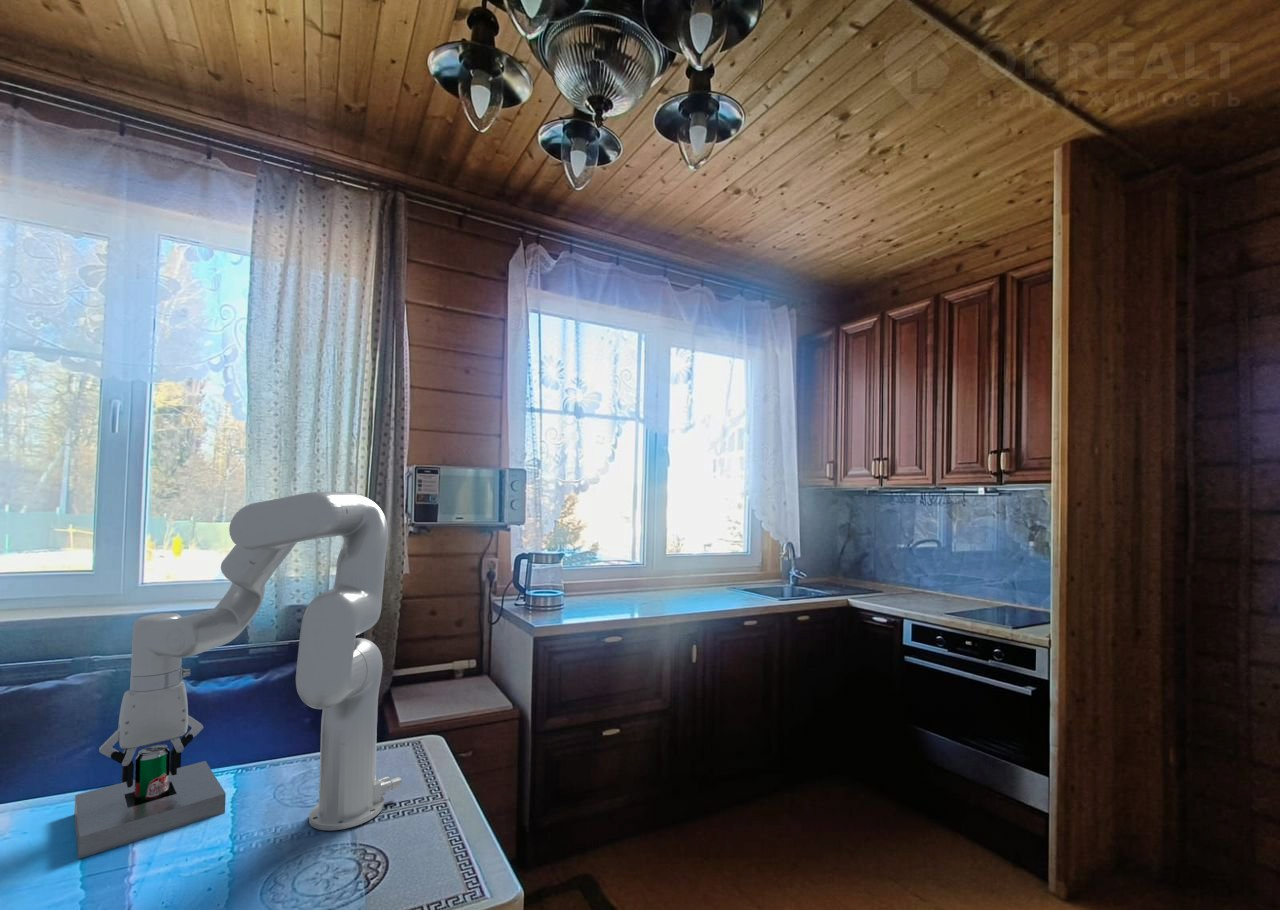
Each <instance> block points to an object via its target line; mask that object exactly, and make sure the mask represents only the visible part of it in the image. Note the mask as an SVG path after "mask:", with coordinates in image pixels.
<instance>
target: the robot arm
mask: <svg viewBox="0 0 1280 910" xmlns="http://www.w3.org/2000/svg"><path fill="white" fill-rule="evenodd" d="M228 529H229V530H228V531H229V536H230V540H232V542H233V543H234V547H232V549H231V550H230V551H229V553H227V555H226V556H225V558H224V559H223V560H222V562H221V565H220V570H221V573H222V574H223V576H224V577H225V578H226V579H227V580H228V581H230V583H231V585H230V587H229V589H228V590H227V592H226V593H225V595H224V596H223V597H222V599H221V600H220V601H219V603H218V604H216V606H214V608H212V609H208V610H204V611H201V612H196V613H193V614H188V615H185V616H181V615H180V614H179V613H174V612H170V613H169V612H168V613H167V612H165V613H155V614H148V615H145V616H142V617H139V618H137V620H135V621H134V623H133V625H132V639H131V640H132V642H131V664H130V665H131V666H130V680H129V683H130V684H129V690H126V691H124V693H123V697H122V701H121V705H120V710H119V718H118V727H117V730H115V731H114V733H113V734H111V735H110V737H108V739H107V740H105V741H104V743H103V744H102V745H101V746H99V748H98V750H99V753H100V754H101V755H104V756H106V757H107V758H110V759H111V760H113V761H115V762H116V763H118V764H120V765H122V771H121V783H124V782H126V784H127V787H128V788H129V787H131V786H133V780H134V773H135V764H134V762H133V757H134V755H135V753H136V751H137V749H138V748H142V747H148V746H152V745H155V744H158V743H163V742H167V741H170V742H171V744H172V747H171V748H172V749H171V750H170V773H171V775H177V768H180V767H182V752H184V751H185V748H186V747H187V746H188V745H189V744H190V743H191V742H192V741H193V739H194V738H195V737H196V736H197V735H199V733H200V732H201V731H202V730H203V729H204V725H203V723H201V722H199V721H198V720H196V719H195V718H194V717H193V716H190V715H189V707H188V695H187V688H186V684H185V682H184V681H182V680H183V679H184V678H186V677H190V676H191V668H183V667H182V662H183V660H182V659H183V658H188V657H189V658H190V657H194V656H196V655H199V654H201V653H204V652H207V651H210V650H212V649H215V648H218V647H221V646H224V645H227V644H229V643H231V642H233V640H234V639H236V638H237V637H238V636H239V635H241V633H242V632H243V631H244V630H245V629H246V627H247V626H248V624H249V623H250V622H251V621H252V619H253V618H254V617H255V616H256V614H257V613H258V612H259V609H261V605H262V604H263V599H264V597H265V593H266V584H267V582H268V581H269V580H270V578H272V576H273V574H274V573H275V572H276V570H277V569H278V568H279V566H280V565H281V564H282V563H283V562H284V560H285V559H286V557H288V555H289V554H290V552H291V551H292V549H293V548H294V547H295V546H296V545H297V543H299V542H300V543H301V542H306V541H311V540H317V539H324V538H333V537H342V538H343V544H342V546H341V548H340V551H339V553H338V557H337V561H336V566H335V567H336V568H335V570H336V571H335V579H334V584H333V588H332V589H328V590H326V591H324V592H321V593H320V594H318V595H317V596H315V597H314V598H313V599H312V600H311V601H310V603H308V605H307V607H306V609H305V611H304V613H303V615H302V616H303V617H302V618H301V624H300V631H299V632H300V634H299V641H298V652H297V661H296V670H295V671H296V672H295V673H296V674H295V686H296V691H297V694H298V697H299V698H300V700H301V701H302V702H303V703H304V704H305V705H307V706H308V707H310V708H312V709H315V710H322V713H321V723H320V753H319V754H320V755H319V756H320V757H319V786H318V787H319V791H318V793H319V794H318V795H319V796H318V803H317V804H316V805H314V807H313V808H312V809H311V810H310V812H308V813H309V814H308V823H309V825H310V827H312V828H314V829H316V830H319V831H328V832H329V831H330V832H331V831H340V830H347V829H350V828H351V829H352V828H354V827H357V826H360V825H363V824H365V823H367V822H369V821H370V820H372V819H374V818H375V817H377V816H378V815H379V813H381V812H382V810H383V809H384V806H385V797H384V795H386V792H389V791H395V790H396V789H400V788H401V787H402V779H401V777H400V776H398V777H395V778H394V777H393V778H391V779H390V777H389V776H388V775H387V776H385V777H382V778H379V779H377V777H376V776H377V743H378V742H377V740H378V739H377V738H378V737H377V736H378V734H377V732H378V731H377V730H378V729H377V728H378V707H379V693H380V686H381V683H382V674H383V664H384V663H383V657H382V653H381V650H380V649H379V647H378V646H377V644H375V643H374V642H373V641H371V640H369V639H367V638H363V637H356V636H358V635H360V634H362V633H364V632H366V631H368V630H370V629H371V628H372V627H374V626H375V625H376V624H377V623H378V621H379V619H380V617H381V612H382V606H383V595H384V594H383V593H384V581H385V570H386V569H385V567H386V557H387V552H388V551H387V550H388V542H389V541H388V540H389V527H388V522H387V517H386V516H385V513H384V512H383V510H382V509H381V507H379V505H378V504H377V503H376V502H375V501H373V500H371V499H370V498H368V497H367V496H364V495H361V494H359V493H355V492H347V491H310V492H304V493H299V494H295V495H288V496H284V497H280V498H274V499H269V500H262V501H258V502H253V503H249V504H247V505H245V506H243V507H242V508H240V509H239V510H238V511H237V512H236V513H235V514H234V515H233V517H232V519H231V521H230V523H229V528H228ZM189 727H190V728H191V729H190V730H189V731H188V729H189ZM180 737H181V738H180ZM117 743H119V747H120V749H122V750H123V752H121V750H118V749H116V748H114V746H115V745H116V744H117Z"/></svg>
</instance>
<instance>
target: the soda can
mask: <svg viewBox="0 0 1280 910" xmlns="http://www.w3.org/2000/svg"><path fill="white" fill-rule="evenodd" d="M170 751H171V750H170V749H169V748H168V745H167V744H156V745H155V744H153V745H149V746H146V747H145V748H142V749H140V750H139V751H138V754H137V756H136V757H135V759H134V763H135V764H134V779H135V794H134V806H136V805H140V804H143V803H147V802H150V801H154V800H157V799H161V798H164V797H168V796H169V772H170Z"/></svg>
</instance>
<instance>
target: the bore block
mask: <svg viewBox="0 0 1280 910" xmlns="http://www.w3.org/2000/svg"><path fill="white" fill-rule="evenodd" d="M134 794H135V778H133V786H131V787H129V788H128V787H127V784H126V782H124V783H122V782H120V783H116V784H112V785H109V786H104V787H100V788H97V789H92V790H89V791H85V792H82V793H81V792H80V793H79V794H75V795H74V811H73V812H74V814H73V816H75V817H74V826H75V835H76V836H75V837H76V846H77V857H78V860H82V859H84V858H87V857H89V856H90V857H91V856H94V855H96V854H99V853H103V852H106V851H109V850H112V849H116V848H119V847H122V846H124V845H128V844H131V843H134V842H137V841H141V840H144V839H148V838H149V837H152V836H153V837H154V836H156V835H159V834H163V833H165V832H166V833H167V832H169V831H172V830H175V829H178V828H181V827H184V826H187V825H188V826H189V825H190V824H193V823H196V822H199V821H200V822H201V821H203V820H206V819H209V818H213V817H215V816H218V815H221V814H225V813H226V799H227V798H226V795H227V793H226V791H225V790H224V788H223V787H222V785H221V783H220V781H219V780H218V779H217V777H216V776H215V774H214V772H213V771H212V769H211V767H210V766H209V764H208V762H207V761H206V760H204V761H200V762H197V763H195V762H194V763H192V764H189V765H184V766H181V767H180V768H177V775H171V773H170V772H169V796H168V797H164V798H161V799H157V800H154V801H150V802H147V803H143V804H140V805H136V806H134ZM224 812H225V813H224Z"/></svg>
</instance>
